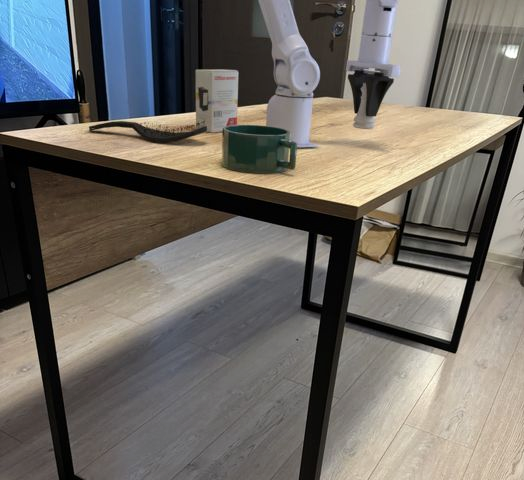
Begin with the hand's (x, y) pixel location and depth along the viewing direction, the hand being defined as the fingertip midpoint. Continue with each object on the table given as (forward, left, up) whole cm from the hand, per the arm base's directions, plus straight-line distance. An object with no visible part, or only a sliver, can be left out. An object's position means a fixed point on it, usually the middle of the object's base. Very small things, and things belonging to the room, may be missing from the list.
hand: (365, 114), depth 107 cm
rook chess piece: (0, 0, -3) cm, 3 cm away
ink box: (-22, -23, -6) cm, 32 cm away
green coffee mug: (+15, -30, -6) cm, 35 cm away
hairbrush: (-14, -41, -6) cm, 44 cm away
